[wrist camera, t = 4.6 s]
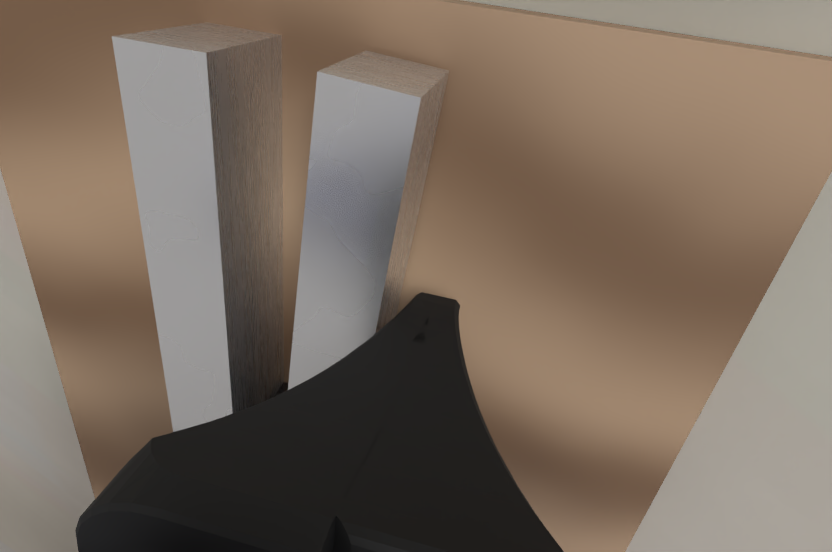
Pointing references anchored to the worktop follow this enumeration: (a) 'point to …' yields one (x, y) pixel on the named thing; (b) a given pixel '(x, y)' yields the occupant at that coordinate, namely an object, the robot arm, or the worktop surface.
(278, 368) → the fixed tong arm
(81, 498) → the worktop surface
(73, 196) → the board
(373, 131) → the bar
